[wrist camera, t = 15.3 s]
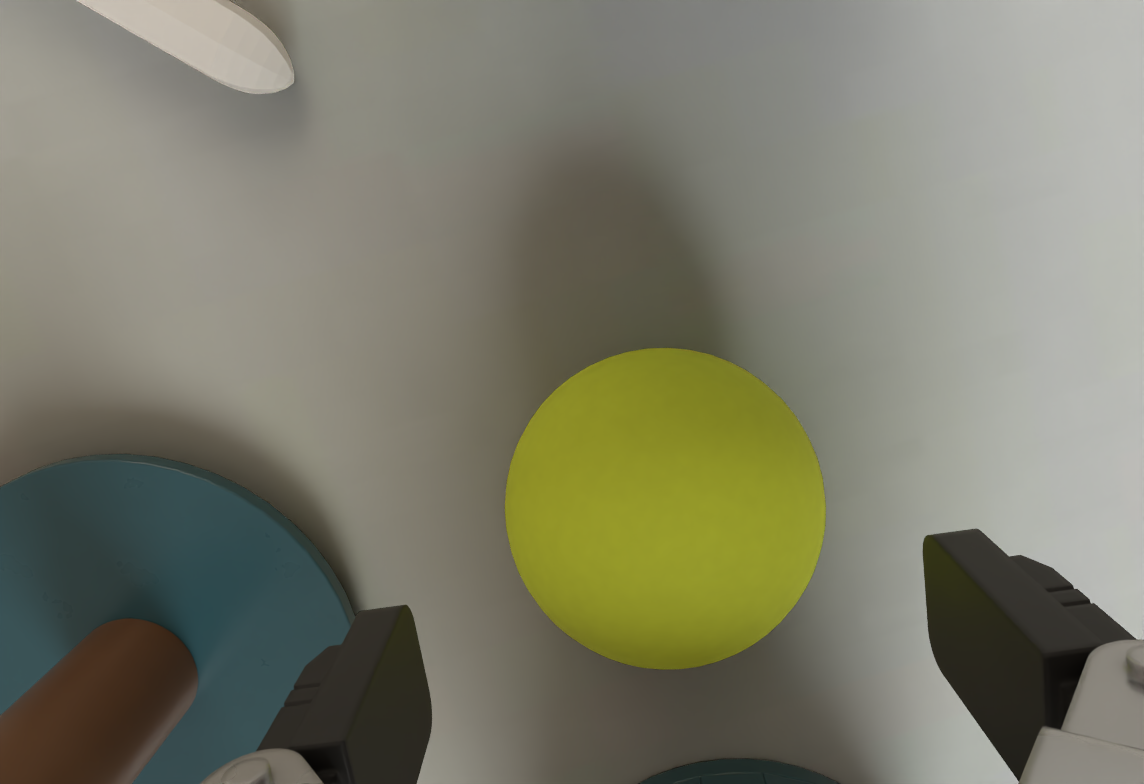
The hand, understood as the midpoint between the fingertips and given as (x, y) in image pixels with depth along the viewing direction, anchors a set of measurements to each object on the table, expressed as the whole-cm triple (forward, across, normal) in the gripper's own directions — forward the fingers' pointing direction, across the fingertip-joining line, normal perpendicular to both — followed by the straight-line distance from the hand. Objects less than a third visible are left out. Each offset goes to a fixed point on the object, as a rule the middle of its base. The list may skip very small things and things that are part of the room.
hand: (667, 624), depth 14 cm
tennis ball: (+4, 0, 0) cm, 5 cm away
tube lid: (+7, +13, +3) cm, 15 cm away
